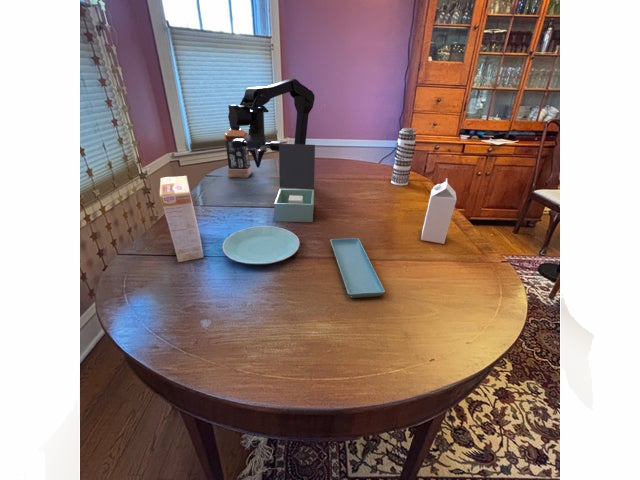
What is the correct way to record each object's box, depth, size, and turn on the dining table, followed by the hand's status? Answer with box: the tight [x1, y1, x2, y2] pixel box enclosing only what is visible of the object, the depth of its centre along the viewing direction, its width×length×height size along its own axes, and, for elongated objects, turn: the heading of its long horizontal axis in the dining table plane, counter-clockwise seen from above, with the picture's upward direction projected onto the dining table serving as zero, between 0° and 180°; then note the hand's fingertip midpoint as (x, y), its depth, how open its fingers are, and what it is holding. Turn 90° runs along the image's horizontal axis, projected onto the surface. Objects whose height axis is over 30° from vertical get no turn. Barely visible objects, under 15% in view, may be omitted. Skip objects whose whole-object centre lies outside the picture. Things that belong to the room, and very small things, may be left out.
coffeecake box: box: [159, 175, 204, 263], centre depth 84 cm, size 15×7×20 cm, turn 23°
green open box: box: [273, 188, 315, 223], centre depth 111 cm, size 15×13×7 cm
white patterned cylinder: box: [390, 127, 418, 186], centre depth 141 cm, size 9×9×25 cm
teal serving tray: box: [329, 237, 386, 299], centre depth 81 cm, size 26×9×2 cm, turn 8°
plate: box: [222, 225, 300, 265], centre depth 88 cm, size 22×22×3 cm
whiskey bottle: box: [223, 104, 253, 179], centre depth 144 cm, size 10×10×32 cm
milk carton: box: [420, 177, 458, 245], centre depth 93 cm, size 7×7×19 cm
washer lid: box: [278, 143, 316, 190], centre depth 113 cm, size 16×13×1 cm
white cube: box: [288, 195, 303, 204], centre depth 112 cm, size 5×5×5 cm
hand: (258, 167), depth 120 cm, fingers closed
